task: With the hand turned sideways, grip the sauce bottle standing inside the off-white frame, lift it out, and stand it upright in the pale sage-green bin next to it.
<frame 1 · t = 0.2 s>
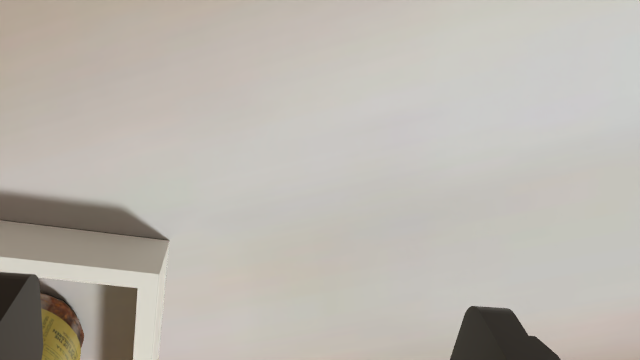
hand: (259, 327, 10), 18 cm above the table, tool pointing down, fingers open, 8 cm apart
sauce bottle: (38, 323, 32), resting in off-white frame
off-white frame: (36, 326, 32), on the table
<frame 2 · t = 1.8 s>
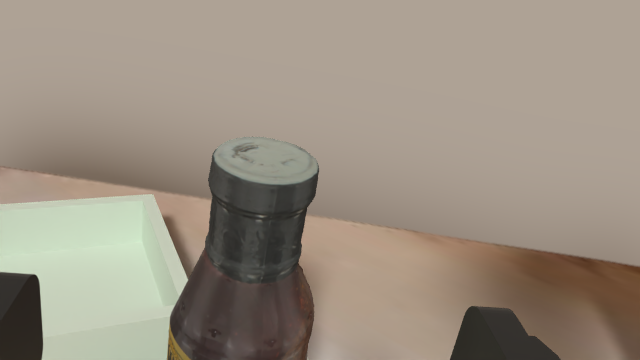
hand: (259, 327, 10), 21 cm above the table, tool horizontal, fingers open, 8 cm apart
sage bin: (57, 315, 39), on the table
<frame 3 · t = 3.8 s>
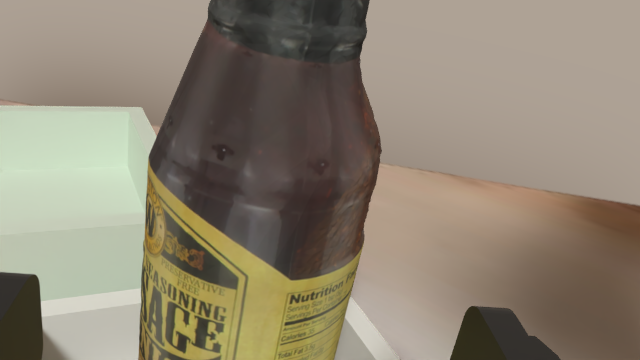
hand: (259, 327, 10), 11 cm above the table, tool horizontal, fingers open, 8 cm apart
sage bin: (13, 239, 31), on the table
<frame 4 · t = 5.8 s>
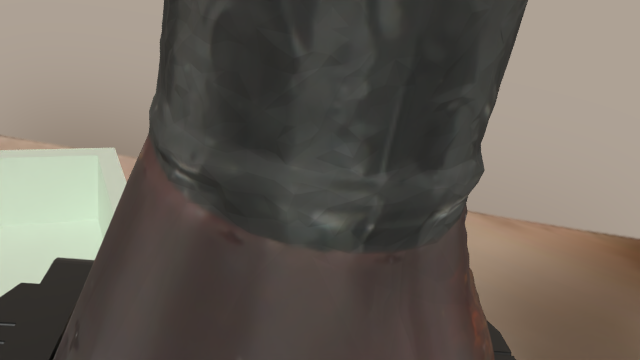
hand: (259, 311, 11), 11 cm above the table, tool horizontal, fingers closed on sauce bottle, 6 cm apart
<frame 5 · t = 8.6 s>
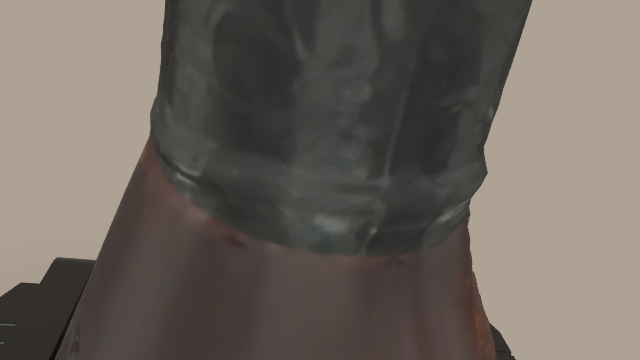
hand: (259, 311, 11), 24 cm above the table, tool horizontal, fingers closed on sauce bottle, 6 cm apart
when the fingers open (13 cm above the table, at t = 11.6 s): sauce bottle drops 1 cm, resting on sage bin.
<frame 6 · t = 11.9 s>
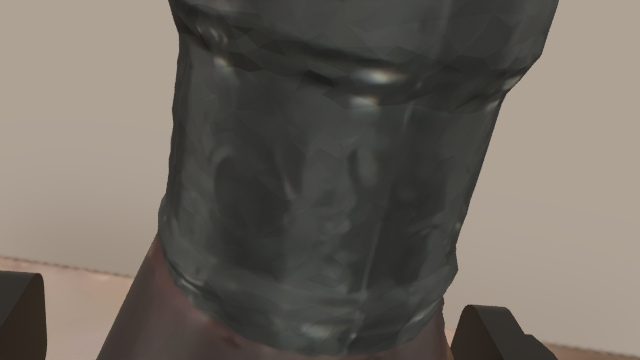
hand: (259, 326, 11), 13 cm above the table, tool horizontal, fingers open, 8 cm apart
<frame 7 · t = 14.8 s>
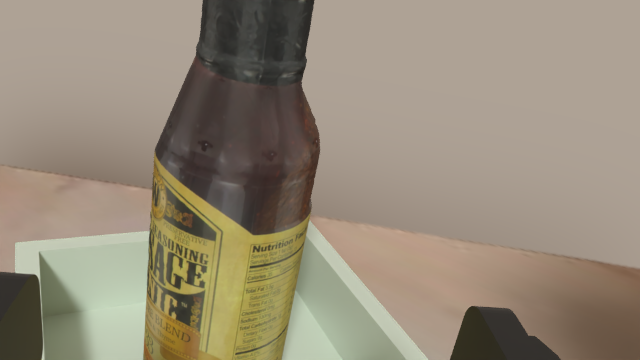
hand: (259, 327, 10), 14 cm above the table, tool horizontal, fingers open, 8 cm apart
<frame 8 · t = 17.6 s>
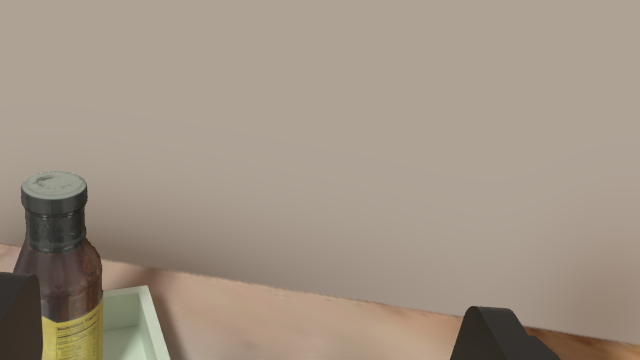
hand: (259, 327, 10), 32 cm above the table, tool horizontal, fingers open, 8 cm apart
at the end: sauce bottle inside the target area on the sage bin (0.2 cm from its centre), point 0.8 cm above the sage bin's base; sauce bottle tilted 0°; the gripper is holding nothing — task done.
